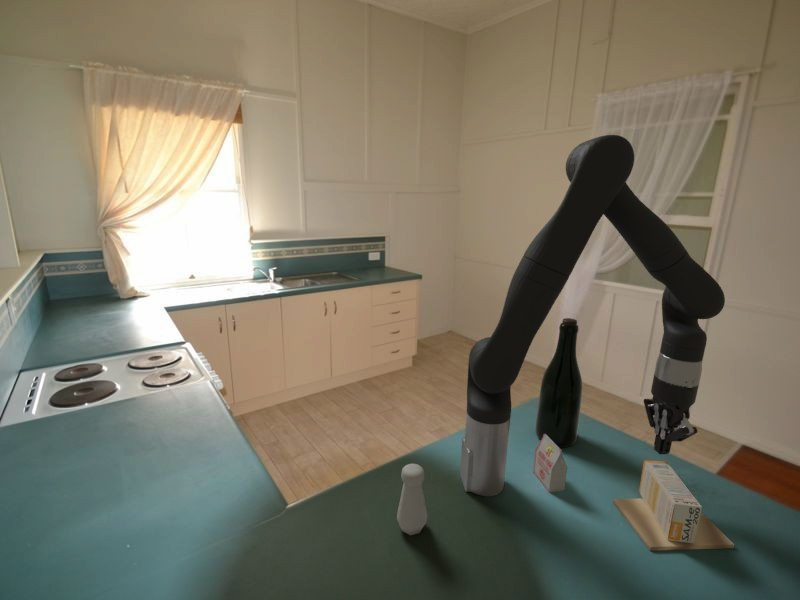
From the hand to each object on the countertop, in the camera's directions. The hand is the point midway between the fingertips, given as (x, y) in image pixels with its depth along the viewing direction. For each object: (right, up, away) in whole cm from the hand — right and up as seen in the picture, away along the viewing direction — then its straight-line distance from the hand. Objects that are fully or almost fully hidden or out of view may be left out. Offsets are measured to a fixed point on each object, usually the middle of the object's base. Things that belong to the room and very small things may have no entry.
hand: (661, 452), depth 85 cm
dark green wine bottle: (-13, -5, +23) cm, 27 cm away
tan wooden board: (-2, -12, -5) cm, 13 cm away
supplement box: (-1, -5, +1) cm, 6 cm away
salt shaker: (-53, -12, -7) cm, 55 cm away
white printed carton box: (-21, -9, +6) cm, 24 cm away
